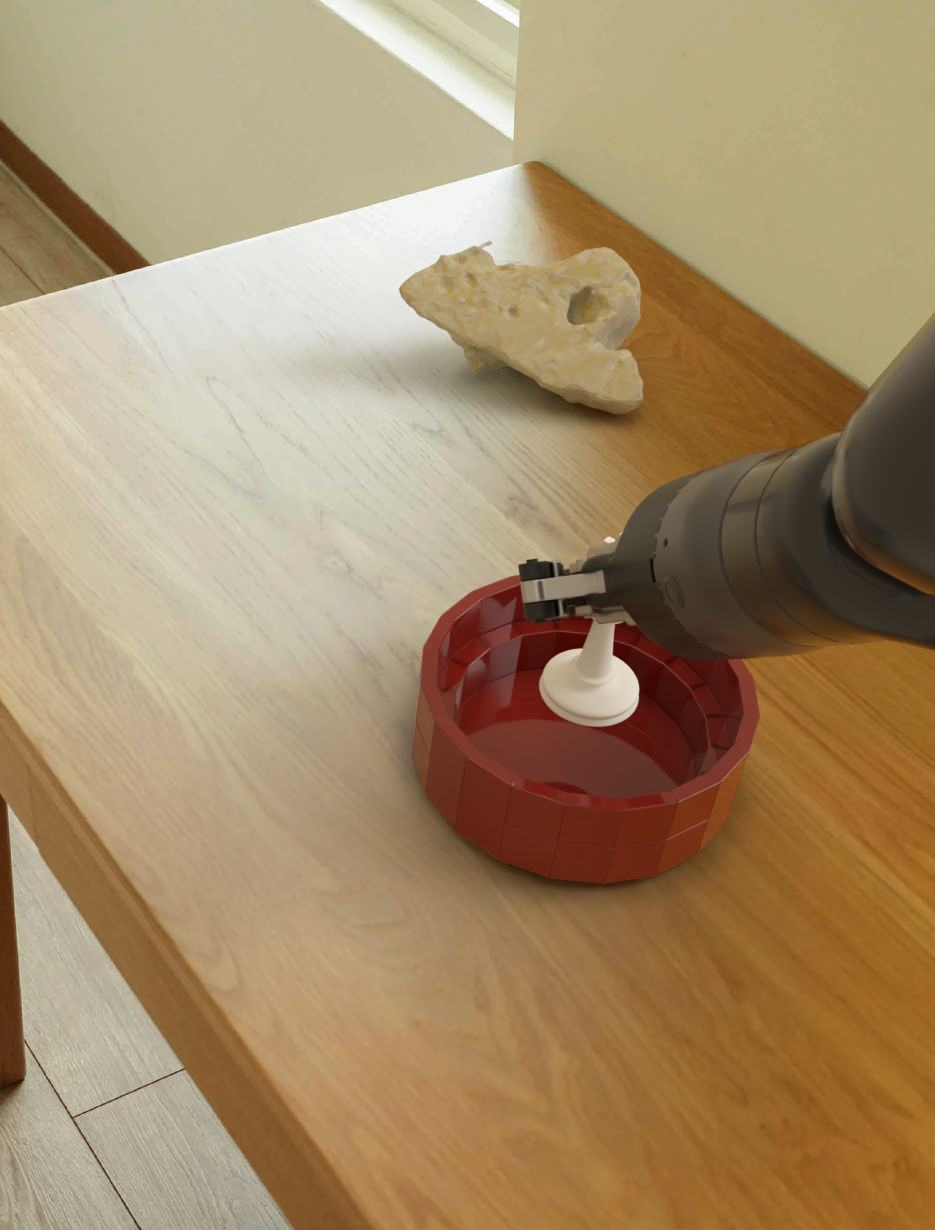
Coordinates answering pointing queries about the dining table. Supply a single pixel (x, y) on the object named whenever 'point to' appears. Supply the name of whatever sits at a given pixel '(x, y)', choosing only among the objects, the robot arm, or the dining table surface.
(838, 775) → the dining table surface
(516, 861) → the bowl
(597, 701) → the chess piece
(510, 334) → the beige rock
